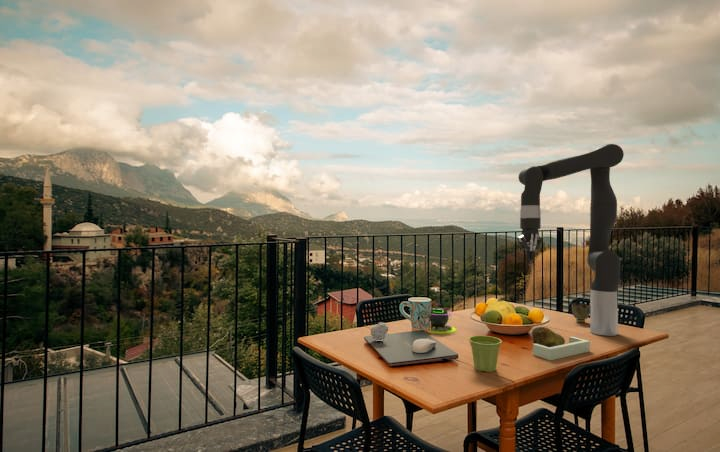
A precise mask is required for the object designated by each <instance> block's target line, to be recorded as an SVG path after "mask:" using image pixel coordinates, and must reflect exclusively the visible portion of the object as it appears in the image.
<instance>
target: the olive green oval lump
mask: <svg viewBox="0 0 720 452" xmlns="http://www.w3.org/2000/svg"><path fill="white" fill-rule="evenodd" d="M531 337H532V340H533V341H532V344H539V345H543V346H546V347H554V346H559V345H564V344H566V343H565V342H566V340H565V338H564V337H563V336H562V335H561V334H559V333H557V332H554V331H553V330H552V329H550V328H548V327H544V326H538V327H535V328H533V329H532V331H531Z"/></svg>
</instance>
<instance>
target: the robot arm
mask: <svg viewBox="0 0 720 452" xmlns="http://www.w3.org/2000/svg"><path fill="white" fill-rule="evenodd" d="M624 154H625V153H624V150H623V148H622V147H621V146H620V145H618V144H616V143H615V144H614V143H607V144H604V145H602V146H601V145H600V146H598V147H596V148H594V149H593V150H592V151H590V152H587V153H583V154H579V155H575V156H570V157H565V158H560V159H557V160H552V161H549V162H546V163H544V164H541V165H537V166H536V165H535V166H534V165H532V166H528V167H525V168H524V169H522V170H521V171H520V172H519V173H518V181H519V183H521V185H523V186H524V189H523V191H522V192H521V195H520V214H519V215H520V217H519V222H520V223H519V226H520V227H519V228H520V229H521V235H520V236H518V237H517V238H516V239H517V242H518V244H519V245H520V247H521V249H522V250H525V252H526V253H525V254H526V255H525V256H526V257H525V259H526V261H529V262H530V261H531V262H533V261H534V260H535V251H536V250H538V249H539V247H540V246H541V244H542V242H543V239H544V237H543V236H541V235H540V231H539V230H540V229H541V212H542V211H541V198H540V197H541V191H542V188H543V187H542V186H543V182H545V181H550V180H555V179H560V178H563V177H568V176H570V175H573V174H576V173H580V172H584V171H587V170H590V171H589V173H590V207H589V210H590V212H589V218H590V223H589V245H588V251H587V258H586V259H587V265H588V267H589V268H590V269H591V270H592V271H593V272H594V279H593V281H591V282H590V287H589V288H590V291H589V292H590V298H589V299H590V301H589V302H590V304H589V305H590V313H589V316H590V321H589V323H590V325H589V326H590V327H589V331H590V333H592V334H595V335H598V336H599V335H600V336H606V337H609V336H610V337H614V336H617V335H618V333H619V310H618V286H619V285H620V281H621V280H620V279H621V259H620V256H619V255H618V254H617V253H616V252H615V251H612V250H610V246H609V245H610V236H611V233H612V231H613V228H614V226H615V224H616V220H617V216H618V201H617V197H616V194H615V192H614V189H613V188H612V186H611V185H612V184H611V181H610V177H611V175H610V174H611V173H610V172H611V168H614V167H616V166H617V165H619V164H620V163H621V162H622V161H623V159H624V156H625V155H624Z"/></svg>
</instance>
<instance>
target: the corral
mask: <svg viewBox="0 0 720 452" xmlns="http://www.w3.org/2000/svg"><path fill="white" fill-rule="evenodd" d="M590 347H591V343H590V340H587V339H583V338H579V337H575V336H569V339H568V343H565V344H564V345H559V346H554V347H546V346H543V345H539V344H535V343H532V355H533V356H535V357H539V358H542V359H545V360H548V361H554V360H557V359H562V358H563V359H564V358H567V357H570V356H575V355H576V356H577V355H580V354H583V353H584V354H585V353H588V352H589V353H590Z"/></svg>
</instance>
